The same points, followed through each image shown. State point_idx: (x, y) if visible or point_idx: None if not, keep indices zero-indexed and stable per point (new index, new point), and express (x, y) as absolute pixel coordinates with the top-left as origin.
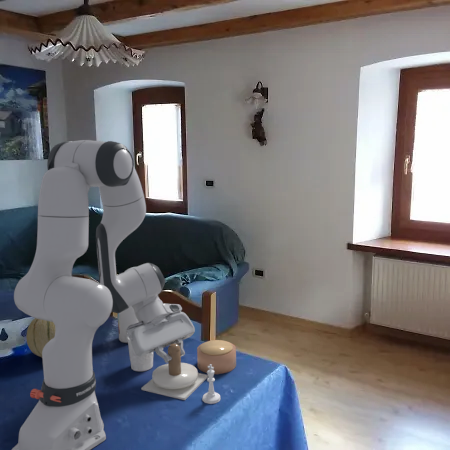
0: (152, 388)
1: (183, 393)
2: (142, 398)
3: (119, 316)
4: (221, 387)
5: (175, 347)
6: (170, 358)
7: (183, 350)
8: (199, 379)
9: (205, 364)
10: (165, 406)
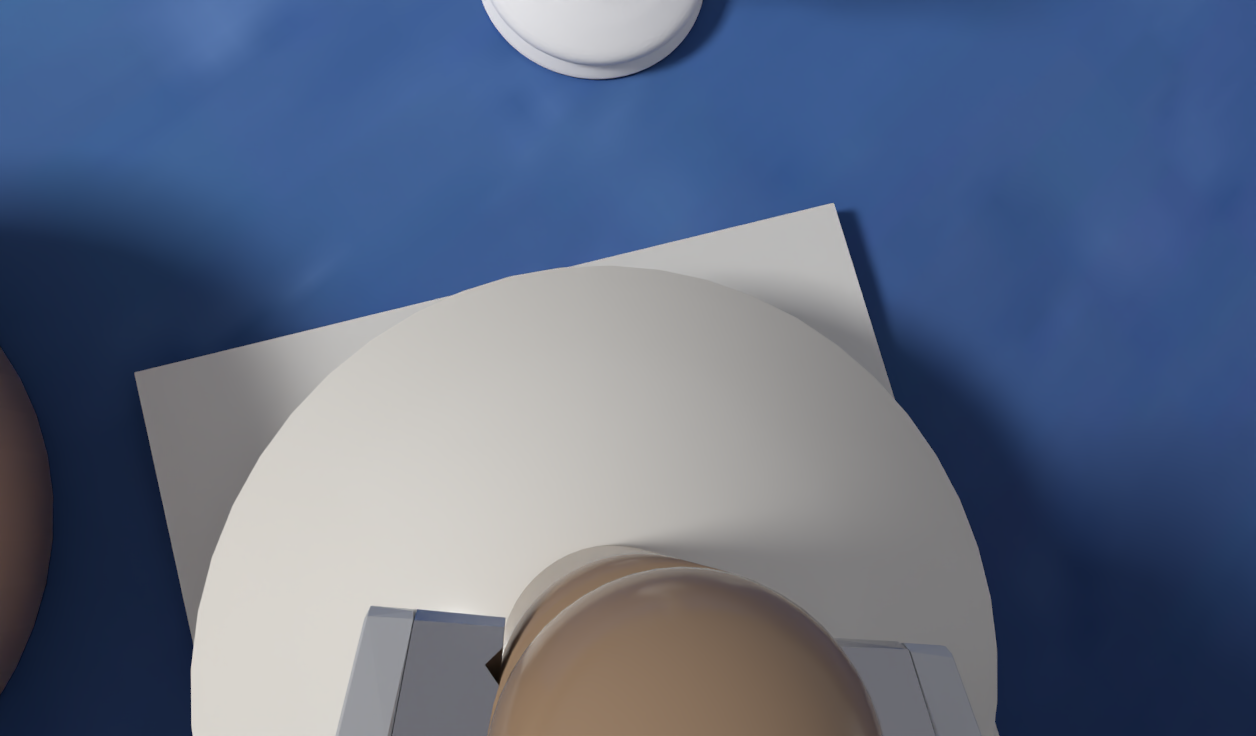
0: None
1: (763, 297)
2: (1148, 683)
3: None
4: (281, 39)
5: (777, 653)
6: (868, 648)
7: (376, 665)
8: None
9: None
10: (1067, 304)
